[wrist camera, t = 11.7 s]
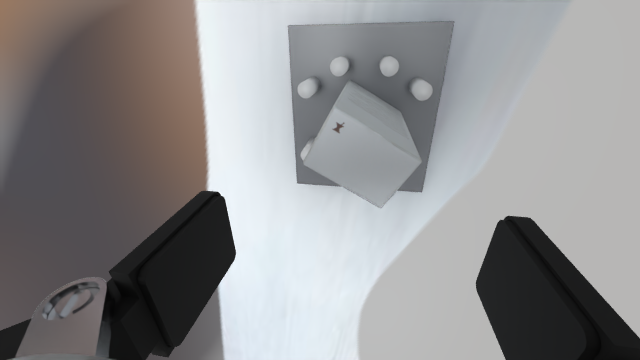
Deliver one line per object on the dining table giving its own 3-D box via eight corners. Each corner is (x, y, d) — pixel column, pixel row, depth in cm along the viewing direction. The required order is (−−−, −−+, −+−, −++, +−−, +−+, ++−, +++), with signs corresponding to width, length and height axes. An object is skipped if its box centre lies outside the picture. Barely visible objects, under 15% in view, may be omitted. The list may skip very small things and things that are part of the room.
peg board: (291, 26, 25) (275, 22, 21) (450, 22, 22) (468, 17, 18) (299, 178, 32) (288, 198, 28) (420, 187, 30) (428, 209, 26)
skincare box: (327, 116, 27) (298, 163, 16) (349, 78, 25) (333, 102, 14) (377, 147, 27) (381, 211, 17) (403, 112, 25) (426, 159, 15)
